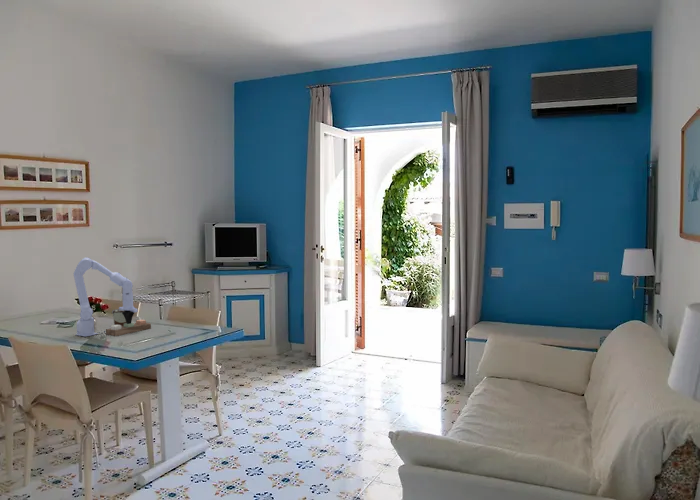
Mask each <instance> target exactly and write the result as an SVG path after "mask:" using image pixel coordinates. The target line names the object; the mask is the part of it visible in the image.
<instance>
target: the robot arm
mask: <svg viewBox="0 0 700 500" xmlns="http://www.w3.org/2000/svg"><path fill="white" fill-rule="evenodd" d="M90 269H91V270H95V271H96V270H97V271H99V272H101V274H104V275H106V276H108V278H109V281H111V282H112V283H114V284H115V285H117V286H119V287H121V288H122V295H121V296H122V306H119V307H118V309H119V310H120V311H121V310H122V311H124V312H122V314H123V315H124V317H125V320H126V323H127V324H130V323H132V319H133V317H134V315H135V313H138V308H136V307H135V306H134V293H133V287H134V285H133V282H132V280H130V279H128V277H125V276H123V275H122V274H121V273H120V272H117V271H114V272H113V271H111V269H109V268H107V267H106V266H104V265H103V264H101V263H100V262H98V261H96V260H95V259H91V258H90V257H87V256H85V257H83V258H82V259H81V260H80V261H79V262H78V264H77V265H76V267H75V269H74V271H73V278H74V283H75V287H76V291H77V292H76V293H77V297H78V301H79V307H80V309H79V310H80V313H79V317H80V318H79V319H78V320H77V322H76V333H75V336H81V337H89V336H95V335H98V334H99V332H95V319H94V317H93V314H94V310H93V308H92V307H91V306H90V302H89V298H88V293H87V288H86V284H85V280H84V279H85V278H84V274H85V273H86V272H87V271H88V270H90Z"/></svg>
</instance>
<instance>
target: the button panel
mask: <svg viewBox="0 0 700 500" xmlns="http://www.w3.org/2000/svg"><path fill="white" fill-rule="evenodd" d="M133 323H134V326H133V327H124V326H121V329H118V330H111V327H110V328H106V329H105V335H106V336H113V337H118V336H123V335H127V334H128V335H129V334H133V333H136V332H141V331H145V330H149V329H152V323H150V322H149V323H148V322H146V324H142V325H138V324H136V322H133Z"/></svg>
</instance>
